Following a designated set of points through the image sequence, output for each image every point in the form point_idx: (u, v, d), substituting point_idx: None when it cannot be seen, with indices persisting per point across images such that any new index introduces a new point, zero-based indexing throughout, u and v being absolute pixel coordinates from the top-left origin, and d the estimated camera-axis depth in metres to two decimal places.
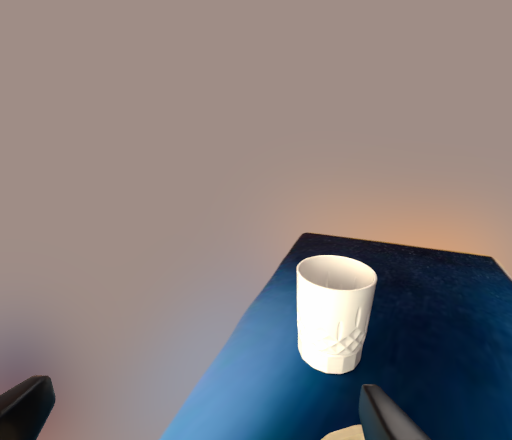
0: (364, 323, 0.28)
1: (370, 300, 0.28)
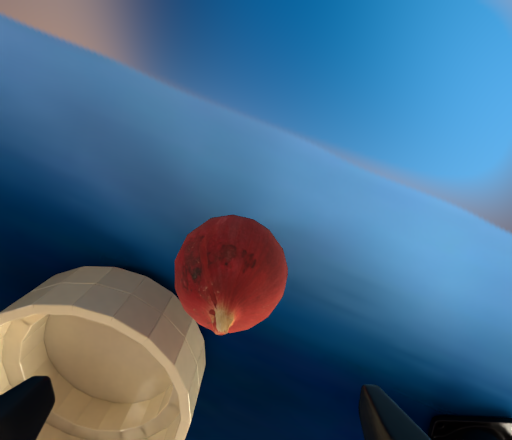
0: None
1: None
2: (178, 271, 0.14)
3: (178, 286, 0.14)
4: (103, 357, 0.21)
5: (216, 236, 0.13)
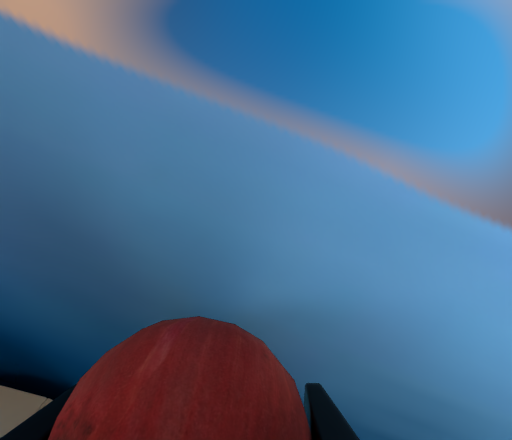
0: None
1: None
2: None
3: None
4: None
5: (123, 437, 0.05)
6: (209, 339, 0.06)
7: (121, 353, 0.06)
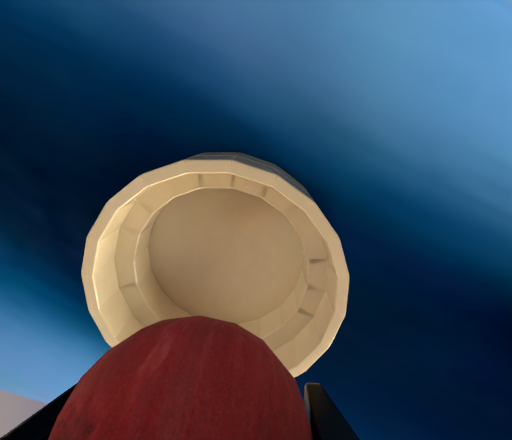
0: None
1: None
2: None
3: None
4: (212, 266, 0.19)
5: (124, 436, 0.05)
6: (210, 338, 0.06)
7: (122, 352, 0.06)
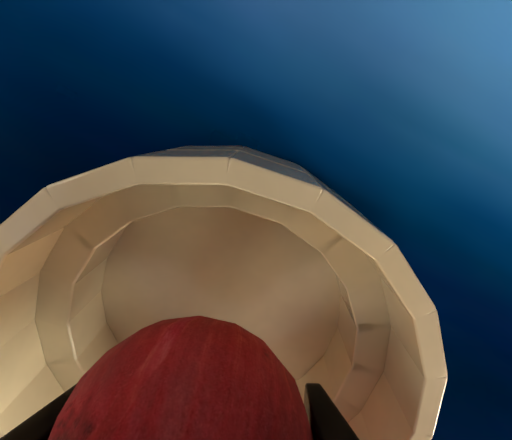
0: None
1: None
2: None
3: None
4: None
5: (123, 436, 0.05)
6: (210, 338, 0.06)
7: (122, 352, 0.06)
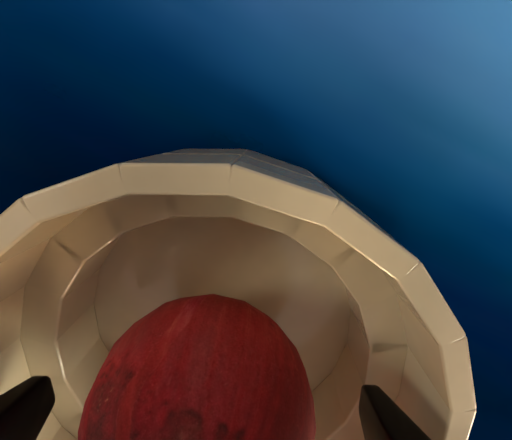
0: None
1: None
2: None
3: None
4: None
5: (159, 379, 0.06)
6: (224, 309, 0.07)
7: (150, 319, 0.07)
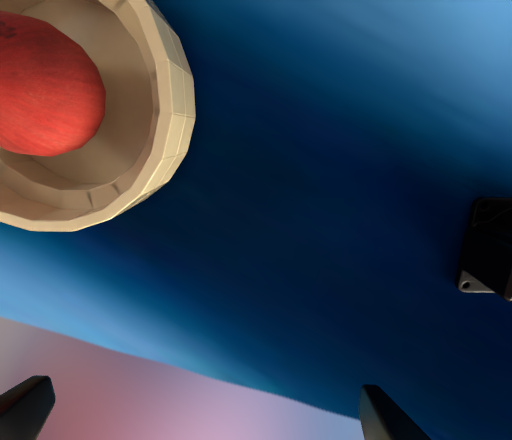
0: None
1: None
2: None
3: None
4: None
5: None
6: None
7: None
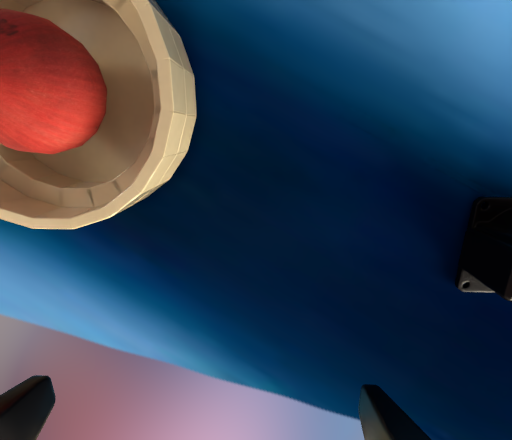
0: None
1: None
2: None
3: None
4: None
5: None
6: None
7: None
